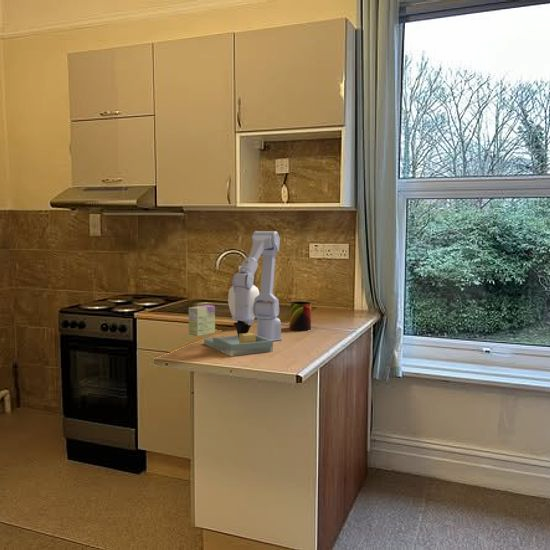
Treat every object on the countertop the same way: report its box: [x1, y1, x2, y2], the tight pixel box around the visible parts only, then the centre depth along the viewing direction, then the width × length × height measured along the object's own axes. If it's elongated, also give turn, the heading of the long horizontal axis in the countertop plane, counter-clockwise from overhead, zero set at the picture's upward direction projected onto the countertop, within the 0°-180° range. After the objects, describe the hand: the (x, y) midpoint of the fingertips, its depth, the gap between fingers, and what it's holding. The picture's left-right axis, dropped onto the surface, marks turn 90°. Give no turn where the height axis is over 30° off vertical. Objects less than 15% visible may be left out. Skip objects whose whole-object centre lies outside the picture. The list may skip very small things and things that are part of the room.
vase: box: [227, 265, 260, 323], centre depth 253 cm, size 14×14×28 cm
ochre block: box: [239, 332, 257, 344], centre depth 203 cm, size 4×4×4 cm
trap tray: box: [203, 333, 274, 357], centre depth 211 cm, size 17×24×4 cm
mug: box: [289, 301, 312, 332], centre depth 251 cm, size 10×14×12 cm
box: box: [188, 304, 216, 337], centre depth 237 cm, size 10×6×12 cm, turn 141°
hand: (242, 341), depth 207 cm, fingers closed
